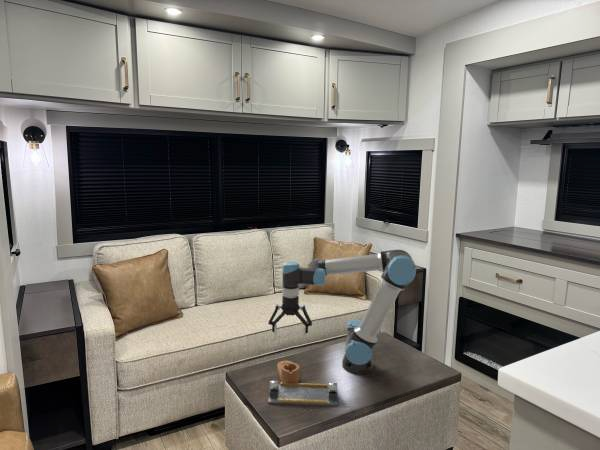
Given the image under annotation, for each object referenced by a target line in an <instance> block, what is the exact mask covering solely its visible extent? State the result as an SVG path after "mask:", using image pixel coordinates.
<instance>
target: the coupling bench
mask: <svg viewBox="0 0 600 450" xmlns="http://www.w3.org/2000/svg"><path fill="white" fill-rule="evenodd" d="M268 392H269V396H268V400H267V402H268V404H271V405H272V404H274V405H275V404H276V405H298V406H299V405H301V406H324V407H338V383H337V382H328V384H327V383H311V382H310V383H309V382H308V383H307V382H306V383H305V382H304V383H303V382H298V383H283V382H281V381H280V384H279V380H269V391H268Z"/></svg>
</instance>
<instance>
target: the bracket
mask: <svg viewBox="0 0 600 450" xmlns="http://www.w3.org/2000/svg"><path fill="white" fill-rule="evenodd" d="M276 368H277V369H276V370H277V373H278V376H279V378H280V383H281V382H283V383H300V365H299V364H298V363H296V362H293V361H291V360H282V361H279V362H278V363H277V366H276Z"/></svg>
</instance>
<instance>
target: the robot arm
mask: <svg viewBox="0 0 600 450" xmlns="http://www.w3.org/2000/svg"><path fill="white" fill-rule="evenodd" d="M374 271H381V272H382V274H381V276H380V278H381V283H380V286H379V287H378V289H377V291H376V293H375V295H374V296H373V299H372V301H371V303H370V305H369V306H368V308H367V310H366V312H365V315H364V316H363V318H362V319H361V320H359V319H354V320H349V321H348V322H347V324H346V325H347V326H346V341H345V342H346V343H345V348H344V352H345V353H344V355H343V358H342V362H341V363H342V365H341V366H342V368H343V369H344V370H345V371H347V372H349V373H352V374H354V375H355V374H356V375H361V374H362V375H363V374H368V373H370V372H372V371H373V370H374V369H373V368H374V362H373V357H372V356H373V350H374V348H375V347H376V344H377V342H378V338H377V335H378V334H379V331H380V329H381V327H382V326H383V324H384V322H385V320H386V318H387V316H388V314H389V313H390V311H391V309H392V307H393V305H394V304H395V302H396V300H397V298H398V296H399V294H400V292H401V291H405V290H406V289H407V286H408V285H409V284H410V283H411V282H412V281H413V280H414V279H415V277H416V273H417V266H416V264H415V261H414V260H413V258H412V256H411V255H410V254H409V252H407V251H405V250H403V249H391V250H385V251H379V252H378V253H375V254H368V255H366V254H365V255H357V256H347V257H341V258H339V257H338V258H331V259H323V260H322V259H318V258H315V259H313V260H311V261H310V262H309V264H308V266H307V267H301V266H300V263H298V262H296V261H287V262H284V263H283V265H282V289H281V290H282V292H281V293H282V294H281V295H282V296H281V297H282V299H281V300H282V301H281V302H282V303H281V305H279V304H278V303H276V305H275V309H274V310H273V313H272V315H271V316H270V318H269V320H268V325H271V331H272V333H274V340H277V337H278V335H277V334H278V333H277V332H278V331H277V329H278V325H277V323H278V322H279V321H280V320H281V319H282V318H283V317H284V316H296V317H297V319H298V320H300V321H301V323H302V324H303V341H304V342H305V341H306V334H308V333H309V327H311V326H313V321H312V320H311V317H310V315H309V314H308V312H307V309H306V305H305V304H303V305H299V303H300V302H299V299H300V298H299V297H300V296H299V294H300V285H306V286H307V285H311V286H324V285H325V283H326V276H334V275H345V274H354V273H355V274H356V273H366V272H374ZM280 310H282V311H281V313H280V314H279V315H278V316H276V315H277V313H278V311H280ZM299 310H300V311H302V313H303V315H304V317H303V315H301V313H300V312H299ZM275 317H276V318H275Z"/></svg>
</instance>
